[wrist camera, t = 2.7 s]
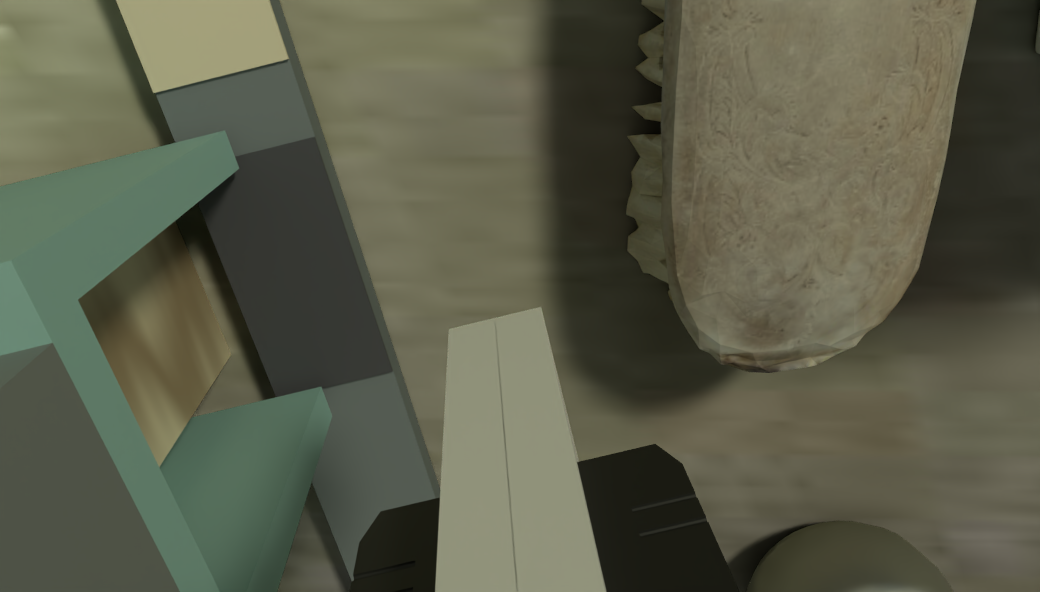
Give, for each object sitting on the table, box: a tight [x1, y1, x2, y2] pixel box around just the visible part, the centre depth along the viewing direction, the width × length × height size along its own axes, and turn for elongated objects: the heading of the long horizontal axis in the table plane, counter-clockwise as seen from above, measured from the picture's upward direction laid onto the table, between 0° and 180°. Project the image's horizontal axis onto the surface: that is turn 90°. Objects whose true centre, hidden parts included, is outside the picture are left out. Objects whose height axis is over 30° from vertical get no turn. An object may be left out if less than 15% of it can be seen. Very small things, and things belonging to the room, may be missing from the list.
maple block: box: [78, 221, 231, 467], centre depth 19 cm, size 4×4×8 cm
